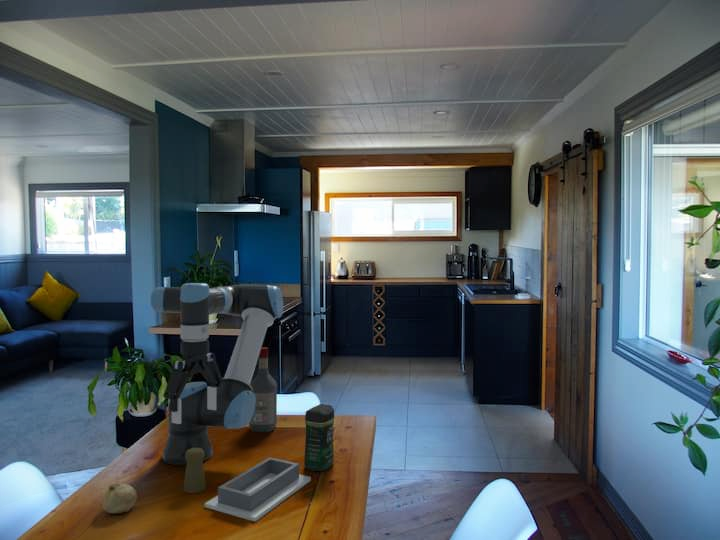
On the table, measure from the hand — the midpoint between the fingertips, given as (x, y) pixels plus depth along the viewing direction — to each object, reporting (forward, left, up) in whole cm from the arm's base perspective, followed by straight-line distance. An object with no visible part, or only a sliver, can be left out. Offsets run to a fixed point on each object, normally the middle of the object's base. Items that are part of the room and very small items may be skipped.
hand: (194, 416), depth 146 cm
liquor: (-13, +49, -20) cm, 55 cm away
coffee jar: (+23, +29, -20) cm, 42 cm away
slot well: (+18, +6, -20) cm, 28 cm away
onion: (-8, -18, -21) cm, 28 cm away
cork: (0, 0, -20) cm, 21 cm away
